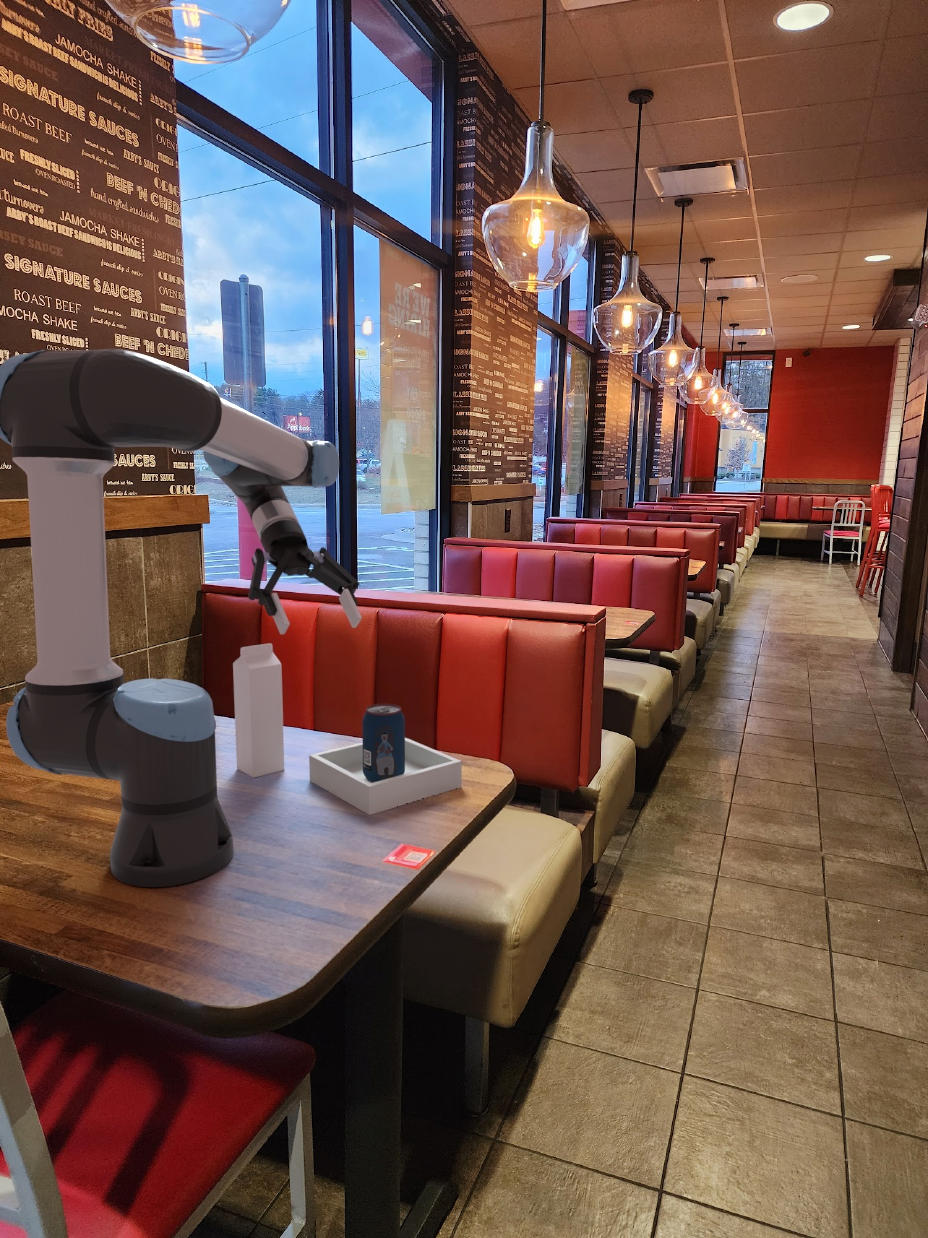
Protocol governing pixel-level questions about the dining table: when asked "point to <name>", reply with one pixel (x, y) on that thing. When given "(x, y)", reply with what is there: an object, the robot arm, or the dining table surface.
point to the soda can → (383, 742)
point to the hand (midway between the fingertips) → (322, 626)
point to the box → (420, 779)
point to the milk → (258, 711)
